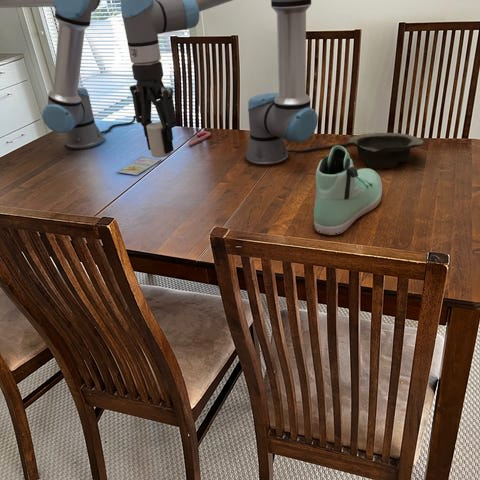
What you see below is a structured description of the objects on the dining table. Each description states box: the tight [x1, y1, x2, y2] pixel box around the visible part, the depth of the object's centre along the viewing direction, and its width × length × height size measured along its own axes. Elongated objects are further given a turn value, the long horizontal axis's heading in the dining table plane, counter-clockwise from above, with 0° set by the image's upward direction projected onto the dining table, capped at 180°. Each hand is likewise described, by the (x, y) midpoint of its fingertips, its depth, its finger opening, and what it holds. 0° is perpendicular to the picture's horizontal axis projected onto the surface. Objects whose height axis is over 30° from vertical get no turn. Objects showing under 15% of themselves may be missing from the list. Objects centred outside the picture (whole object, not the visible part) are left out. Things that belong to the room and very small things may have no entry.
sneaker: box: [313, 146, 383, 236], centre depth 133 cm, size 14×35×20 cm, turn 152°
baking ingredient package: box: [117, 157, 161, 176], centre depth 177 cm, size 9×1×15 cm
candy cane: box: [188, 130, 212, 147], centre depth 198 cm, size 6×15×2 cm, turn 145°
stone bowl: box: [347, 132, 426, 170], centre depth 165 cm, size 25×25×9 cm
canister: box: [146, 121, 172, 159], centre depth 130 cm, size 6×6×8 cm
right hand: (160, 149), depth 132 cm, fingers closed on canister, 6 cm apart
